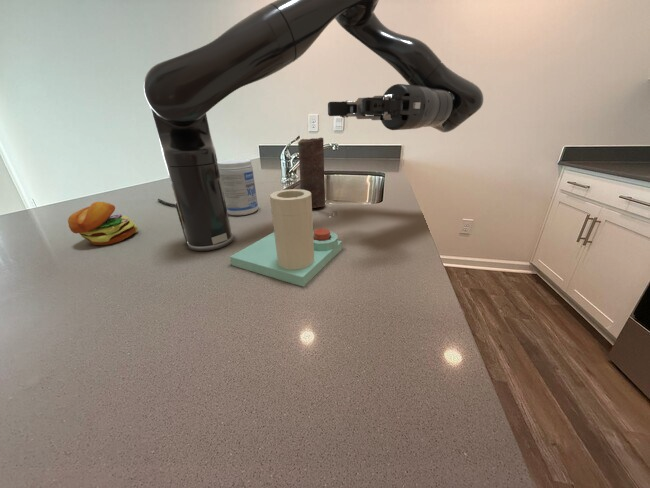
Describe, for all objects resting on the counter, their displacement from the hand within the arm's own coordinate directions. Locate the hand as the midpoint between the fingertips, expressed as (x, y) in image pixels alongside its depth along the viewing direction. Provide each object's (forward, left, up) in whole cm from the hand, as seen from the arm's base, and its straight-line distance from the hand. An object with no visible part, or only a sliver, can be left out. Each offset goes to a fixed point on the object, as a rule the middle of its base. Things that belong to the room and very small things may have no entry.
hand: (345, 107), depth 41 cm
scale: (-9, -6, -26) cm, 28 cm away
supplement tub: (-39, +12, -26) cm, 48 cm away
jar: (-5, -10, -24) cm, 26 cm away
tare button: (-4, -2, -23) cm, 23 cm away
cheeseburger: (-53, -17, -26) cm, 62 cm away
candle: (-21, +24, -26) cm, 41 cm away
